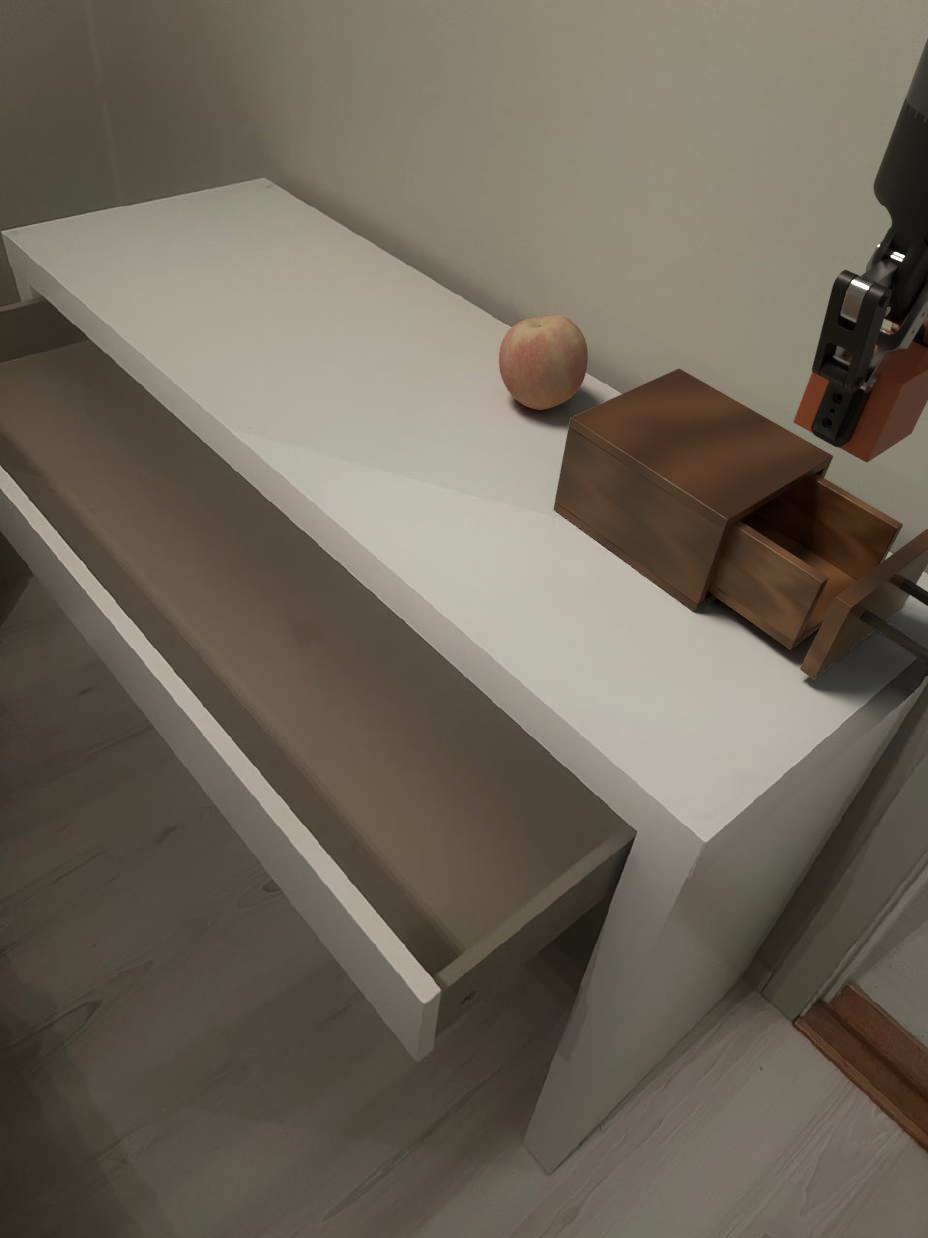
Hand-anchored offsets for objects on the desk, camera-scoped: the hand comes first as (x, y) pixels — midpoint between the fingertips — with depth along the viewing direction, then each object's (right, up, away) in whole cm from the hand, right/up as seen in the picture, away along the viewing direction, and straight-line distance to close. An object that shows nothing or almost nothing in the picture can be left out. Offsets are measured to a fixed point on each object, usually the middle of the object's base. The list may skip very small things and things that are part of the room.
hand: (855, 422), depth 54 cm
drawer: (+2, -11, +12) cm, 17 cm away
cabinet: (-6, -4, +20) cm, 21 cm away
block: (0, 0, 0) cm, 0 cm away
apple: (-16, +8, +31) cm, 36 cm away
